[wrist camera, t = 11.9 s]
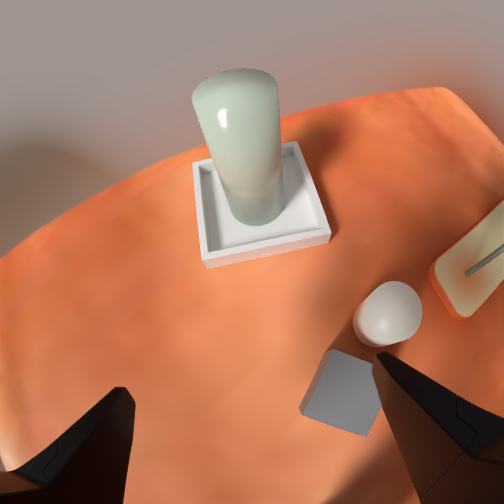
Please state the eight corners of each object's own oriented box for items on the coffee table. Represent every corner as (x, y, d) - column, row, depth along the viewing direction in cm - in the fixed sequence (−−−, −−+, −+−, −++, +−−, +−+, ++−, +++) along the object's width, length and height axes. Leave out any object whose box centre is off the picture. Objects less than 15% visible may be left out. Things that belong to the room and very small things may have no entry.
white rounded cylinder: (407, 310, 22) (429, 297, 18) (386, 356, 21) (408, 352, 16) (366, 288, 23) (382, 270, 19) (343, 332, 22) (356, 324, 18)
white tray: (328, 243, 25) (331, 233, 23) (207, 268, 25) (201, 260, 23) (296, 153, 29) (297, 141, 28) (197, 174, 30) (192, 162, 28)
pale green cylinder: (288, 184, 27) (284, 70, 15) (277, 230, 25) (267, 118, 14) (237, 177, 28) (208, 69, 16) (222, 221, 26) (178, 115, 15)
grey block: (377, 372, 20) (395, 372, 17) (353, 426, 19) (366, 436, 15) (325, 351, 22) (333, 348, 18) (298, 406, 20) (302, 414, 16)
